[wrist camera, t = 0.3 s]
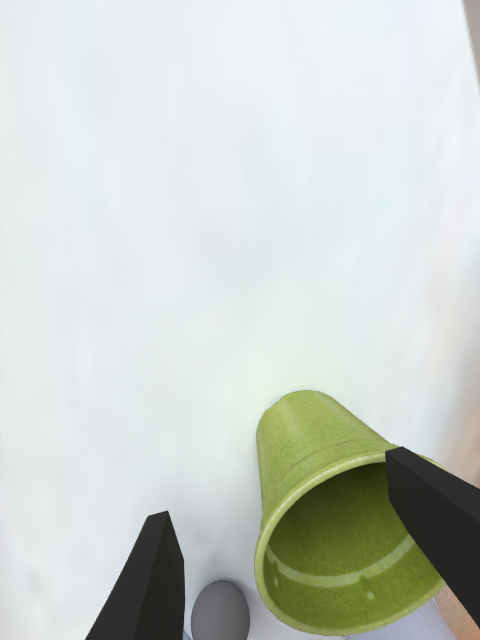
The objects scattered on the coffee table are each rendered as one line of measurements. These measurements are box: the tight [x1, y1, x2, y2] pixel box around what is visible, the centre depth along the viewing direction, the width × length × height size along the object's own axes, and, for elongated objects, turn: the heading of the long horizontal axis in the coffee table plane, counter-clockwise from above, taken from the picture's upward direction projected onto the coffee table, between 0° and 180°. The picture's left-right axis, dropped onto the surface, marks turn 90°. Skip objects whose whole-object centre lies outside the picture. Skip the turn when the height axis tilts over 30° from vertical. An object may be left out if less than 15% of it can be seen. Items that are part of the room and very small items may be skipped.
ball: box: [191, 581, 250, 640], centre depth 22 cm, size 4×4×4 cm
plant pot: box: [254, 390, 450, 636], centre depth 17 cm, size 9×9×9 cm
